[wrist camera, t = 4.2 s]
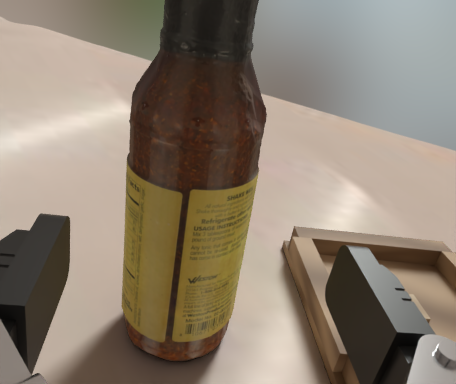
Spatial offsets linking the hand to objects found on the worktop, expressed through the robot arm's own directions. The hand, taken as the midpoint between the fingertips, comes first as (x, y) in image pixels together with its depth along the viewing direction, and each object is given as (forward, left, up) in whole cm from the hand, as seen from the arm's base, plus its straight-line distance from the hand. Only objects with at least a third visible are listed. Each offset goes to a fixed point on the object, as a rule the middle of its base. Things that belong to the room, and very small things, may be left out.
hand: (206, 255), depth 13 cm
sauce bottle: (+7, +4, -11) cm, 14 cm away
